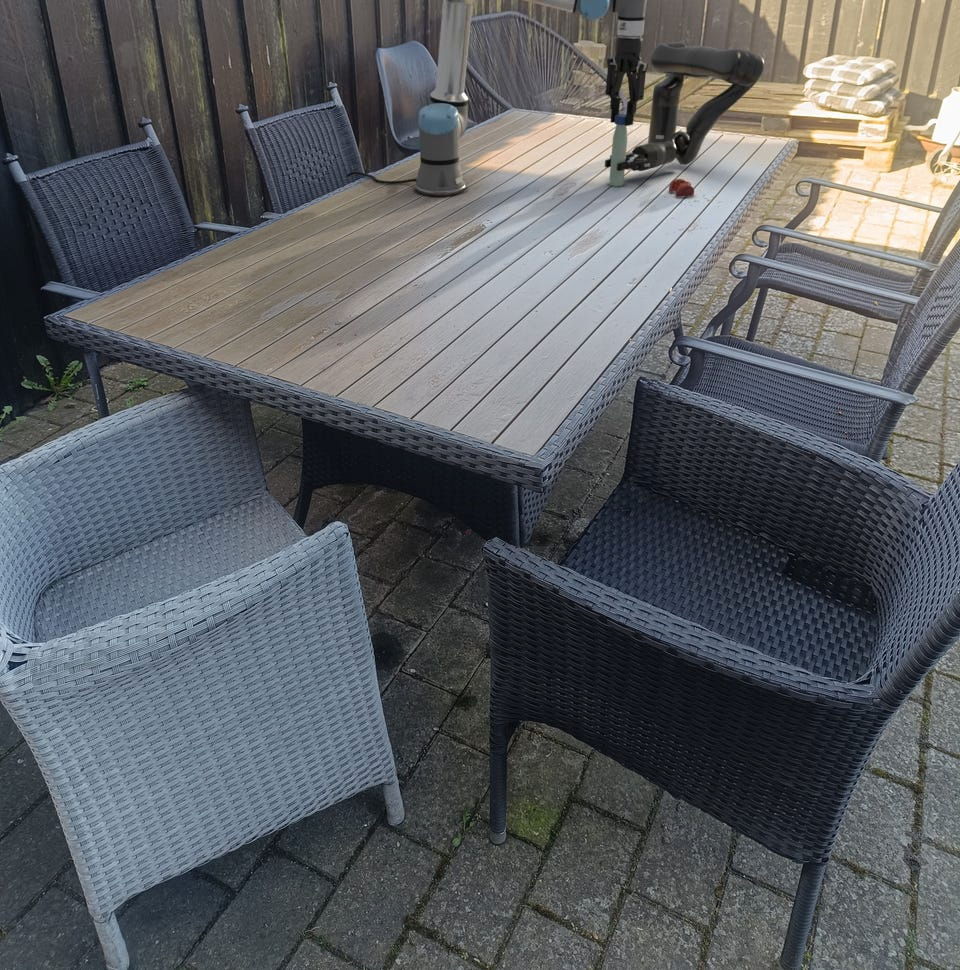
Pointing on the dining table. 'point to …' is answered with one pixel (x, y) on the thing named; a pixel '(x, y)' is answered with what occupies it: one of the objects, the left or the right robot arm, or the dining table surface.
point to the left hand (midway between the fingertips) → (621, 123)
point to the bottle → (618, 155)
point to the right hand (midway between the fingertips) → (611, 165)
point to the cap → (620, 119)
